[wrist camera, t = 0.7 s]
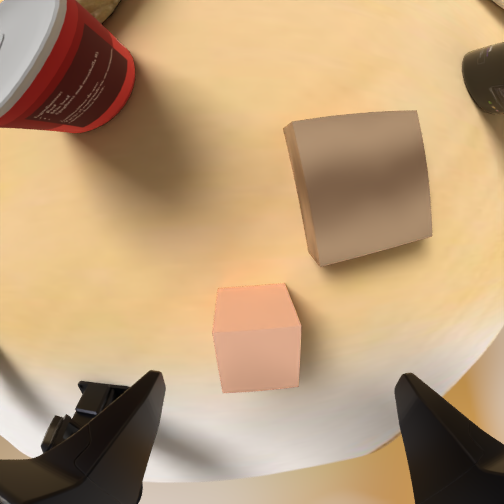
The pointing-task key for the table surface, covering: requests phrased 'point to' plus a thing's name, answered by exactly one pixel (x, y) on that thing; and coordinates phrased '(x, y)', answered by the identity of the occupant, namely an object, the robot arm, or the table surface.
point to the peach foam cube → (256, 338)
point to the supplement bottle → (486, 77)
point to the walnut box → (360, 183)
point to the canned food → (59, 67)
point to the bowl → (499, 3)
